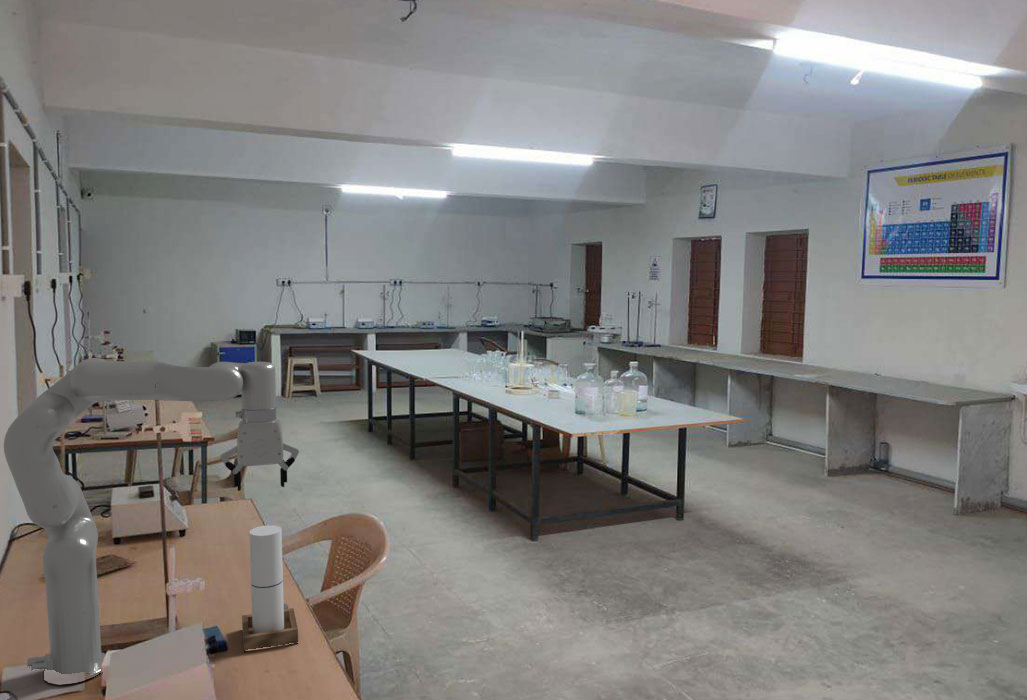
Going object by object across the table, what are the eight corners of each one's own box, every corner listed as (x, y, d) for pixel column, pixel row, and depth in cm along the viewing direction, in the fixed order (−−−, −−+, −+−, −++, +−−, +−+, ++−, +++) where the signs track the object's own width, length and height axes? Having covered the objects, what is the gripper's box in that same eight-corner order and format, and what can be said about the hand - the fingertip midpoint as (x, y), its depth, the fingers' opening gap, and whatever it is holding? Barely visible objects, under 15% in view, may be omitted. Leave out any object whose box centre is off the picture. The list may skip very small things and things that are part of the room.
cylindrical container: (251, 641, 177) (248, 536, 174) (253, 627, 184) (250, 526, 181) (283, 637, 179) (281, 534, 176) (284, 623, 185) (281, 524, 183)
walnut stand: (243, 652, 173) (243, 637, 173) (242, 629, 185) (242, 615, 184) (298, 643, 178) (297, 629, 177) (293, 621, 189) (293, 608, 189)
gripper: (219, 420, 170) (221, 495, 172) (299, 416, 176) (300, 488, 178) (219, 414, 177) (221, 486, 179) (296, 410, 183) (298, 480, 185)
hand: (261, 487), depth 178 cm, fingers open, 9 cm apart
